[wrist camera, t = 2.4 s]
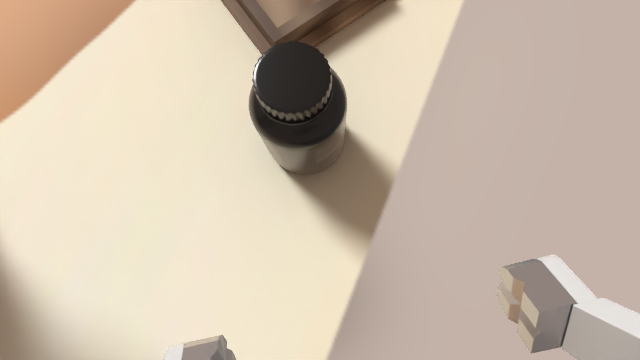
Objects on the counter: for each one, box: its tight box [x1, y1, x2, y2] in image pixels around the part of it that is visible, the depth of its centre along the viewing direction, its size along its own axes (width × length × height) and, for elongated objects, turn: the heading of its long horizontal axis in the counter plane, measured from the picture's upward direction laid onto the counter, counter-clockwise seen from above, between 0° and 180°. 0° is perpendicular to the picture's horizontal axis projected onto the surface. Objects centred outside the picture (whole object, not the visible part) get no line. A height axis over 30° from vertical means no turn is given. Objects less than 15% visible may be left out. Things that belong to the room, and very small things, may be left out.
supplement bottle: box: [249, 41, 347, 174], centre depth 29 cm, size 7×7×12 cm
